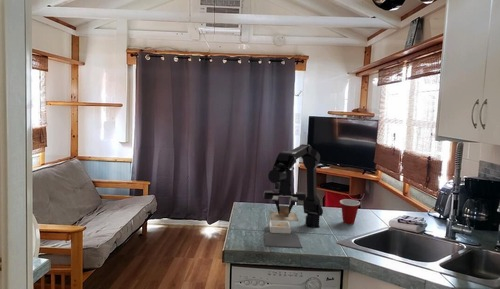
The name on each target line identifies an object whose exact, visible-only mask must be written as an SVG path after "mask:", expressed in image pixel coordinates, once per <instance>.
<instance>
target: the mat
mask: <svg viewBox="0 0 500 289" xmlns="http://www.w3.org/2000/svg"><path fill="white" fill-rule="evenodd" d="M263 235H264V236H263V239H264V247H272V248H292V249H294V248H295V249H303V246H302V243H301V240H300V238H299V235H298V234H288V233H265V232H264V233H263Z"/></svg>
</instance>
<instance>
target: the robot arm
mask: <svg viewBox="0 0 500 289" xmlns="http://www.w3.org/2000/svg"><path fill="white" fill-rule="evenodd" d="M300 158H301V159H302V164H303V165H304V167H305V170H306V193H305V192H304V191H296V192H295V193H292V182H293V181H292V180H293V171H294V170H295V167H294V165H295V164H296V163H297V160H298V159H300ZM320 161H321V155H320V153H319V151H317V150H316V149H315V148H313V147H312V146H311V145H310V144H302V143H301V144H300V145H299V146H297V147H295V148H293V149H291V150H287V151H286V150H285V151H280V152H279V153H278V155H277V157H276V160H275V162H274V164H273V167H272V169H271V170H270V171H269V172H268V176H267V178H268V181H270V182H271V183H272V184H274V185H273V186H274V189H273V190H274V191H277V192H273V190H264V191H263V199H264V200H271V201H272V202H274V204H275V205H276V209H277V212H278V214H279V212H280V210H279V206H280V199H279V198H287V199H288V198H289V200H288V201H289V204H288V207H289V213H290V212H292V209H293V207H294V205H295V204H296V203H298V201H301V202H302V201H303V205H302V206H303V207H302V208H303V213H304V214H305V217H304V218H305V221H304V224H305V225H306V227H308V228H320V217H322V216H323V214H324V209H323V208H322V205H321V199H320V198H319V197H318V195H317V191H318V190H317V168H318V166H319V165H320Z"/></svg>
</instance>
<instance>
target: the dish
mask: <svg viewBox="0 0 500 289" xmlns="http://www.w3.org/2000/svg"><path fill="white" fill-rule="evenodd" d="M268 227H269V234H288V235H292V234H291V232H292V226H291V224H290V221H282V220H269V225H268Z"/></svg>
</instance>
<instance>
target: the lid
mask: <svg viewBox="0 0 500 289" xmlns="http://www.w3.org/2000/svg"><path fill="white" fill-rule="evenodd" d="M279 210H280V212H279V214H278V211H271V210H270V211H269V216H270V217H269V218H270V221H287V222H299V218H298V216H297V213H296V212H294V211H290V213H289V205H279Z"/></svg>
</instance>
